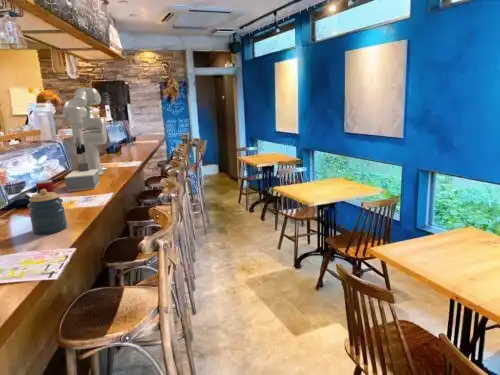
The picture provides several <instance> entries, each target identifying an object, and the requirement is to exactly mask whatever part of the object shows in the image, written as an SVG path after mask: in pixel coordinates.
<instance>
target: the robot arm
mask: <svg viewBox="0 0 500 375" xmlns="http://www.w3.org/2000/svg"><path fill="white" fill-rule="evenodd" d="M101 102H102V97H101V95H100V93H99V91H98V90H97V89H96V88H94V87H82V88H77V89H76V90H75V91H74V95H73V98H72V99H69V100H68V101H66V102H65V103H64V105H63V108H62V116H63V117H64V118H65V119H67V120H69V126H70V130H71V131H72V132H71V133H72V141H73V145H74V146H75V150H76V155H83V154H84V157H85V163H89V170H93V169H98V173H99V176H101V175H104V174H105V172H104V171H107V170H108V168H107V167H106V166H105V167H102V166H101V159H100V152H99V149H98V148H97V147H96V145H97V146H98V145H99V146H100V145H106V144H107V141H108V135H107V133H108V132H107V124H106V120H105V119H104V118H103V117H95V112H94V110H93V109H92V108H91V107H90V106H93V105H94V106H95V105H100V104H101ZM83 130H84V131H85V132H84V131H83Z"/></svg>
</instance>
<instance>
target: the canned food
mask: <svg viewBox="0 0 500 375" xmlns="http://www.w3.org/2000/svg"><path fill="white" fill-rule="evenodd" d="M35 184H36V190H37V194H40V190H42V189H45V190H47V192H55V188H54V185H53V184H54V183H53V180H52V179H42V180H38V181H36V182H35Z"/></svg>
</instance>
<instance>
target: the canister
mask: <svg viewBox="0 0 500 375" xmlns="http://www.w3.org/2000/svg"><path fill="white" fill-rule="evenodd" d="M60 196H61V195H60V194H59V193H56V192H55V191H54V192H47V190H45V189H42V190H40V194H38V193H36V194H34V195H32V196H31V197H30V198H29V199H28V201H29V203H28V204H27V208H28V209H29V212H28V214H29V218H30V222H31V229H32V232H33V234H35V235H41V236H43V235H50V234H54V233H57V232H61V231H63V230H65V229H66V228H67V227H68V223H67V222H68V221H67V219H66V213H65V207H64V206H63V201H64V200H63V199H62V198H60Z"/></svg>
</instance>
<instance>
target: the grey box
mask: <svg viewBox="0 0 500 375" xmlns="http://www.w3.org/2000/svg"><path fill="white" fill-rule="evenodd" d="M64 180H65V181H64V182H65V186H66V191H67V192H76V191H87V190H95V189H96V188H97V187H98V186H99V184H100V183H101V182H100V175H99V173H98V171H97V172H96V173H95V174H94V175H93V176H86V177H76V178H65V177H64Z"/></svg>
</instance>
